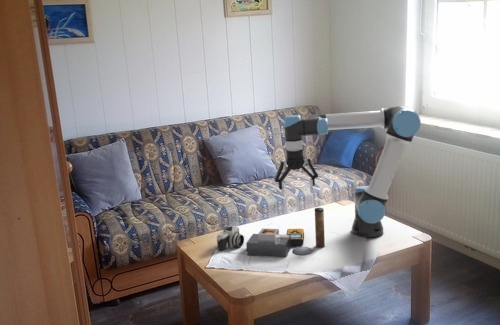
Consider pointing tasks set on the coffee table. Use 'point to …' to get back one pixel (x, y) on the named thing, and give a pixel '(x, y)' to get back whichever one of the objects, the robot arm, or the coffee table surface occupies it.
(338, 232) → the coffee table surface
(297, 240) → the electronic device
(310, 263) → the coffee table surface
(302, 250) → the coaster
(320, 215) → the brown cylinder with cap
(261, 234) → the box
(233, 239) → the camera
